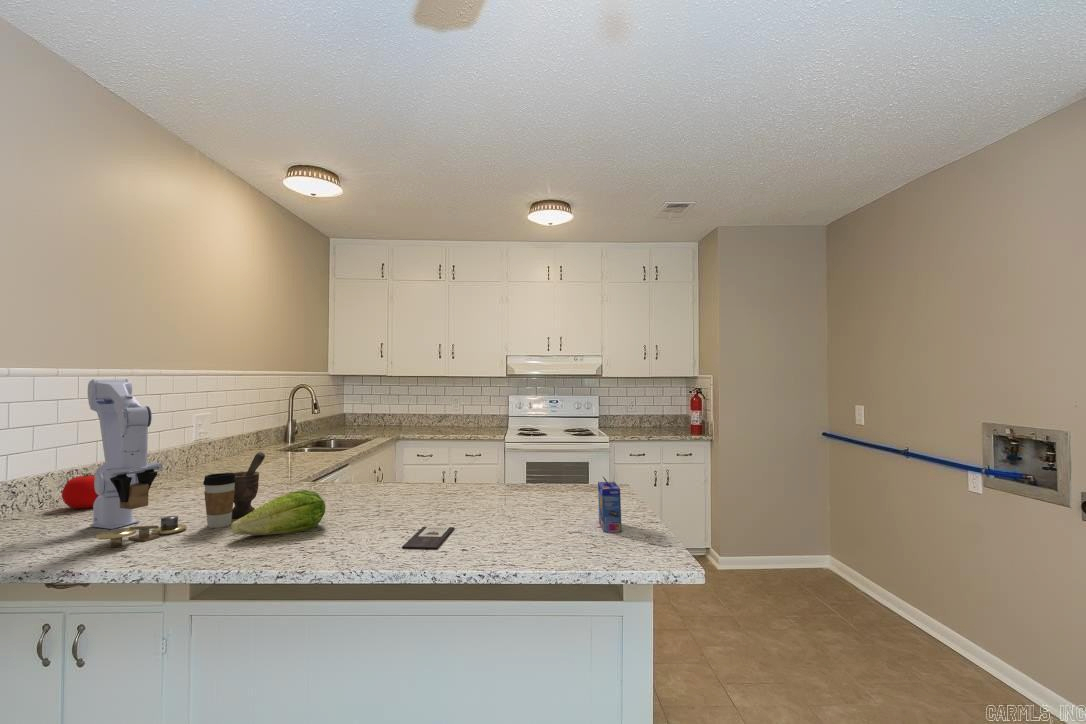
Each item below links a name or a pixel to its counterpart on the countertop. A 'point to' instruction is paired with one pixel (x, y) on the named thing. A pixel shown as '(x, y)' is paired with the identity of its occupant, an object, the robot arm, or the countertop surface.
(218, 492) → the coffee cup
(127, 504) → the walnut block
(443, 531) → the chocolate bar
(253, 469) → the mortar and pestle
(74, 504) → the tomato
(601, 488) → the ink cartridge box
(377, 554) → the countertop surface
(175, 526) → the balance
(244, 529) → the lettuce
